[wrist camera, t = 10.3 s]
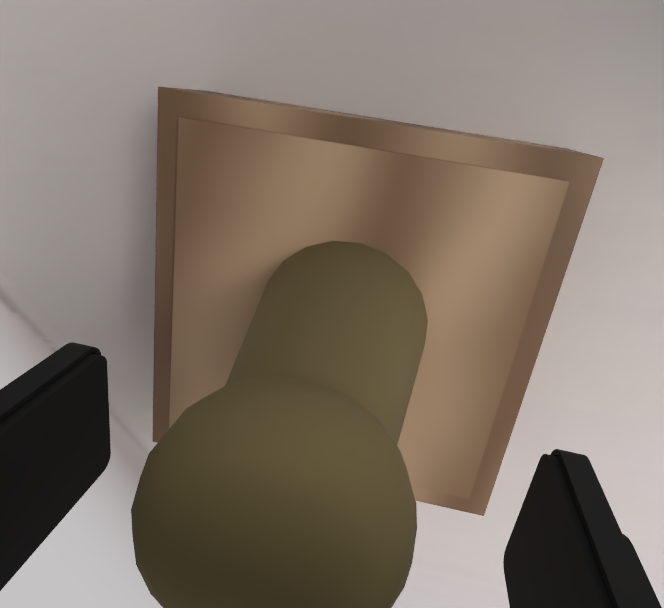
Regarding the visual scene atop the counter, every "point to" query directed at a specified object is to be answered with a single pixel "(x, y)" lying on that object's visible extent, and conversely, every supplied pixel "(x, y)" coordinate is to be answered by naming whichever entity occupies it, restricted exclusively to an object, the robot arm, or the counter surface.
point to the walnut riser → (374, 231)
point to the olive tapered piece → (295, 450)
